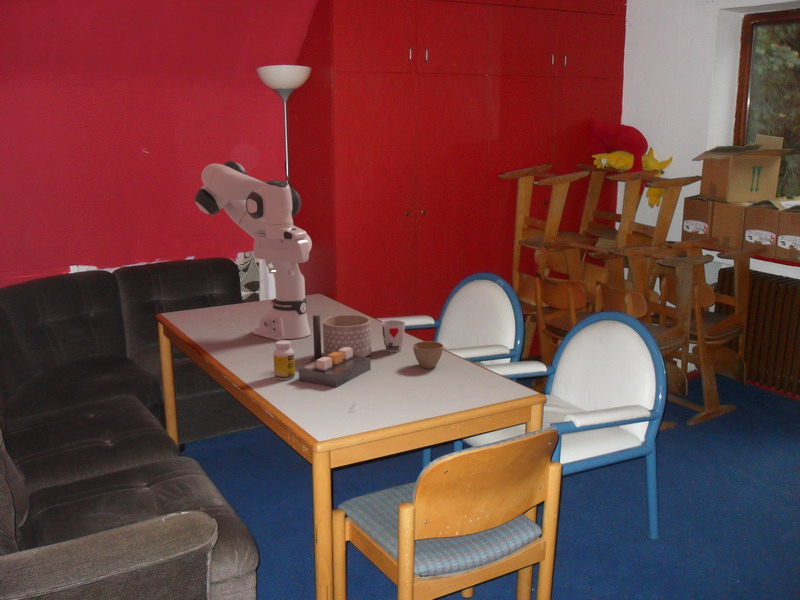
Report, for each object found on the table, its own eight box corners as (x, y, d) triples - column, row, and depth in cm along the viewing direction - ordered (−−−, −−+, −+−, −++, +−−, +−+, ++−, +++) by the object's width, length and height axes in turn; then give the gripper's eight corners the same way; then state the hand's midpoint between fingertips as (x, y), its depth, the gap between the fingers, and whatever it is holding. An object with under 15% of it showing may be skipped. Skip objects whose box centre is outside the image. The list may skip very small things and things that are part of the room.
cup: (378, 351, 266) (377, 324, 264) (389, 345, 273) (388, 319, 271) (398, 354, 262) (398, 327, 260) (409, 348, 269) (408, 321, 267)
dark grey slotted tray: (299, 380, 237) (298, 367, 236) (335, 363, 254) (334, 350, 253) (336, 387, 230) (335, 374, 229) (370, 369, 247) (370, 356, 246)
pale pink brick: (338, 358, 245) (338, 350, 245) (345, 355, 249) (345, 346, 248) (346, 359, 244) (345, 351, 243) (352, 356, 247) (352, 348, 247)
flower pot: (433, 372, 243) (433, 351, 242) (407, 367, 249) (407, 346, 247) (448, 364, 252) (448, 343, 250) (423, 359, 257) (422, 339, 255)
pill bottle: (286, 381, 236) (284, 346, 233) (270, 378, 239) (268, 343, 237) (299, 376, 241) (297, 341, 239) (283, 372, 245) (282, 338, 242)
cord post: (307, 362, 255) (305, 316, 251) (316, 358, 259) (314, 313, 255) (319, 364, 252) (318, 318, 249) (328, 360, 257) (326, 315, 253)
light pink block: (316, 368, 235) (316, 360, 235) (324, 365, 239) (323, 356, 238) (324, 370, 234) (324, 361, 233) (331, 366, 237) (331, 357, 236)
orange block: (327, 363, 240) (327, 354, 240) (334, 359, 244) (334, 351, 243) (335, 364, 239) (335, 356, 238) (342, 361, 242) (342, 352, 242)
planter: (380, 356, 261) (379, 321, 258) (340, 366, 251) (339, 329, 248) (354, 346, 273) (353, 312, 270) (314, 354, 264) (313, 319, 261)
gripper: (248, 231, 244) (250, 273, 247) (298, 235, 234) (300, 278, 237) (260, 228, 249) (262, 269, 253) (310, 232, 239) (312, 275, 243)
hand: (281, 274), depth 245 cm, fingers open, 6 cm apart
